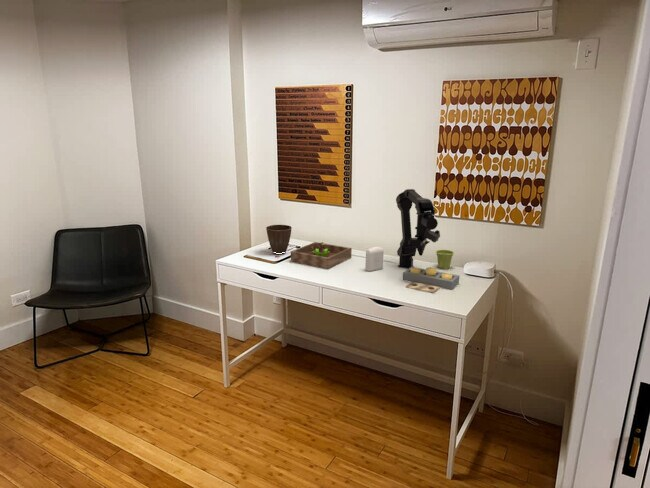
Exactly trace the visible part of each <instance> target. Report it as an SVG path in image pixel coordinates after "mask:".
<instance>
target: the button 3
mask: <svg viewBox="0 0 650 488" xmlns="http://www.w3.org/2000/svg"><path fill="white" fill-rule="evenodd" d="M444 273H445V274H442V277H441V278H444V279H449V280H451V279H452V275H451V274H452V273H449V274H447V272H444Z"/></svg>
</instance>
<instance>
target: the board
mask: <svg viewBox="0 0 650 488" xmlns="http://www.w3.org/2000/svg"><path fill="white" fill-rule="evenodd" d="M411 268H416V267H415V266H412V267H410V268H409V269H408V268H406V270H404V271H403V272H402V281H405V282H409V283H411V282H417V283H422V284H427V285H432V286H437V287H440V288H441V289H446V290H451V291H453V290H454V289H455V287H457V286H458V285H459V284H460V275H459V274H453V273H447V272H442V271H437V270H436V276H435V277H433V276H428V275H426V268H420V267H418V268H419V269H421V273H419V274H417V273H412V272H410V271H411ZM445 273H447V274H451V275H452V279H451V280H449V279H444V278H441V277H442V274H445Z"/></svg>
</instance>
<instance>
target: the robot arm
mask: <svg viewBox="0 0 650 488" xmlns="http://www.w3.org/2000/svg"><path fill="white" fill-rule="evenodd" d="M395 203H396V207H397V208H398V210H399V211H400V219H401V221H400V222H401V231H402V232H401V233H402V238H401V240H400V243H399V247H398V249H397V251H396V253H397V256H398V257H399V259H398V261H399V262H398V265H397V267H399V268H403V269H409V268H410V267H414V258H413V257H416V253H417V252H418V253H417V254H418V255H419V256H423V254H424V251H425V248H426V246H427V245H428V244H430V241H431V242H432V243H436V242H438V241H439V239H440V238H441V231H440V230H438V229H437V227H438V220H437V219H436V218H435V216H436V215H435V214H436V210H435V207H434V204H433V202H432V200H431V199H429V198H426V197H423V196H421V195H420V194H419V193H418V192H417V191H416V189H414V188H407V189H405V190H404V191H402V192H401V193H398V195H397V196H396V198H395ZM413 204H414V209H415V210H416V214H415V215H417V218H416V226H415V228H414V229H415V231H416V234H415V235H414V237H412V236H413V235H412V223H411V208H412V207H413ZM434 230H435V231H434Z"/></svg>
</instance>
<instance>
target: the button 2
mask: <svg viewBox="0 0 650 488" xmlns="http://www.w3.org/2000/svg"><path fill="white" fill-rule="evenodd" d="M425 269H426V275H428V276H433V277H435V276H436V271H437V268H436V267H433V266H432V267H426V268H425Z"/></svg>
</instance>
